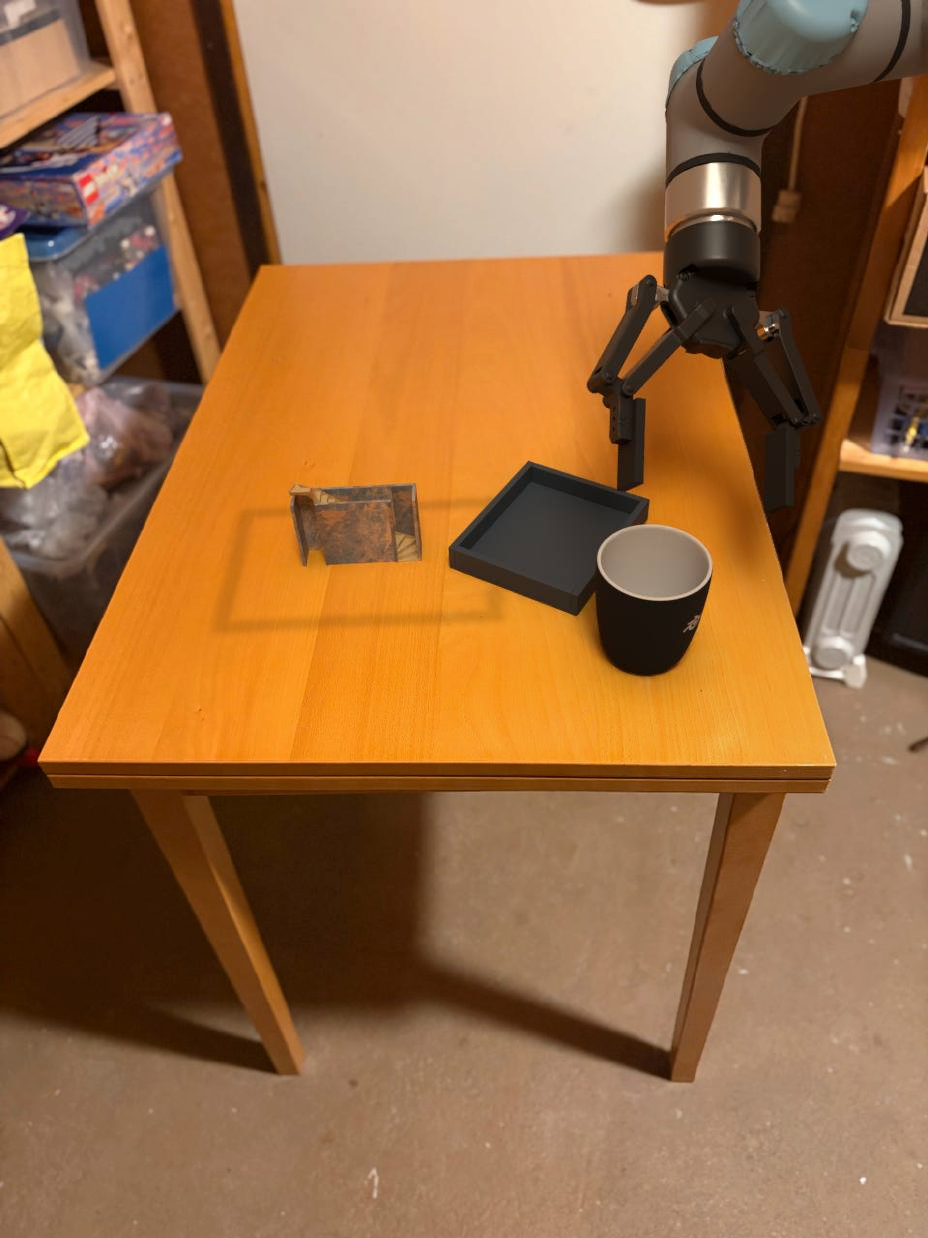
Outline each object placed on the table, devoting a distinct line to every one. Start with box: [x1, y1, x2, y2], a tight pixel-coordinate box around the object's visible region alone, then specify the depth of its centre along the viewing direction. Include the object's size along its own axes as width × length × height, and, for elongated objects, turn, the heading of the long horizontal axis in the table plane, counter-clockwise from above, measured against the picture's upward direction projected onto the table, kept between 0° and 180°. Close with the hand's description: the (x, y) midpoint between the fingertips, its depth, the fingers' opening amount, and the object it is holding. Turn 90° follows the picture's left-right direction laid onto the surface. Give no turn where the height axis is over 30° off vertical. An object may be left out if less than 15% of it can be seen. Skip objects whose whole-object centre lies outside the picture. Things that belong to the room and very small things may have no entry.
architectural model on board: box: [287, 482, 423, 567], centre depth 86 cm, size 11×3×10 cm, turn 91°
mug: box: [594, 523, 714, 676], centre depth 77 cm, size 12×9×10 cm
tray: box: [447, 460, 651, 617], centre depth 89 cm, size 13×15×2 cm
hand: (706, 499), depth 72 cm, fingers open, 13 cm apart
